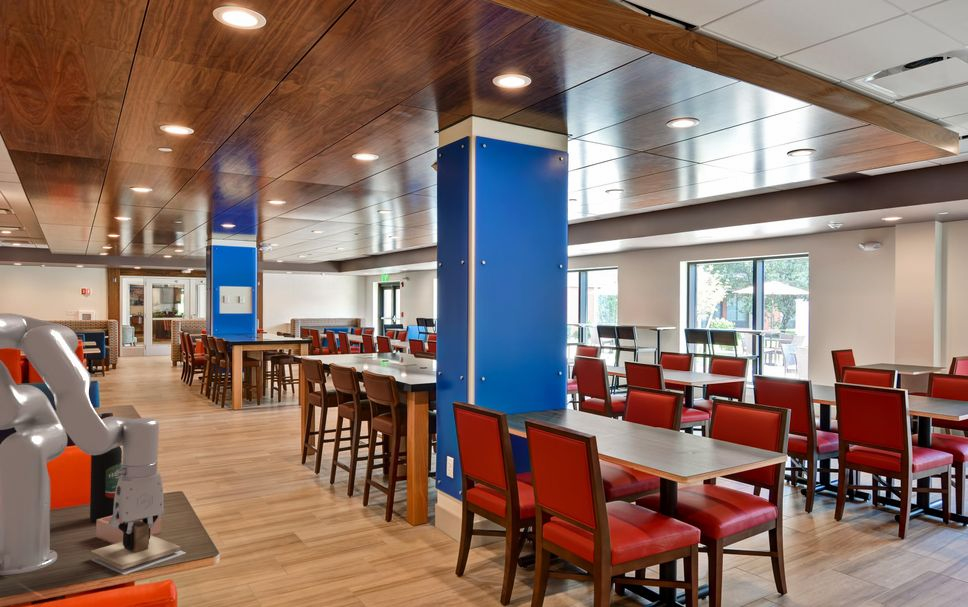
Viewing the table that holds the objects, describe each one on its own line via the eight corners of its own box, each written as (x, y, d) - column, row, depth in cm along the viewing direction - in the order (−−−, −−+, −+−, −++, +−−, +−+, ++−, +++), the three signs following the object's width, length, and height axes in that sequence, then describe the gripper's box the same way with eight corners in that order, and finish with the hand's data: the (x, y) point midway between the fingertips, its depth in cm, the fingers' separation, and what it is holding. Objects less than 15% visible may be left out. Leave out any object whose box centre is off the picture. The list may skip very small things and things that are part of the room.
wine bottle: (101, 513, 182) (103, 411, 182) (126, 514, 181) (128, 411, 182) (83, 522, 174) (85, 415, 174) (109, 523, 174) (111, 416, 174)
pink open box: (118, 547, 156) (118, 527, 156) (96, 538, 162) (96, 519, 162) (160, 534, 165) (161, 515, 165) (138, 526, 171) (138, 508, 171)
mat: (124, 576, 140) (124, 574, 140) (90, 561, 148) (90, 559, 148) (186, 554, 152) (186, 552, 152) (152, 541, 160) (152, 540, 160)
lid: (121, 569, 140) (123, 538, 140) (90, 555, 148) (91, 525, 148) (180, 550, 152) (181, 522, 152) (148, 538, 160) (149, 510, 160)
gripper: (112, 480, 141) (109, 560, 141) (180, 466, 155) (177, 539, 155) (96, 474, 145) (92, 553, 145) (163, 461, 159) (160, 533, 159)
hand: (136, 545), depth 150 cm, fingers closed on lid, 3 cm apart
